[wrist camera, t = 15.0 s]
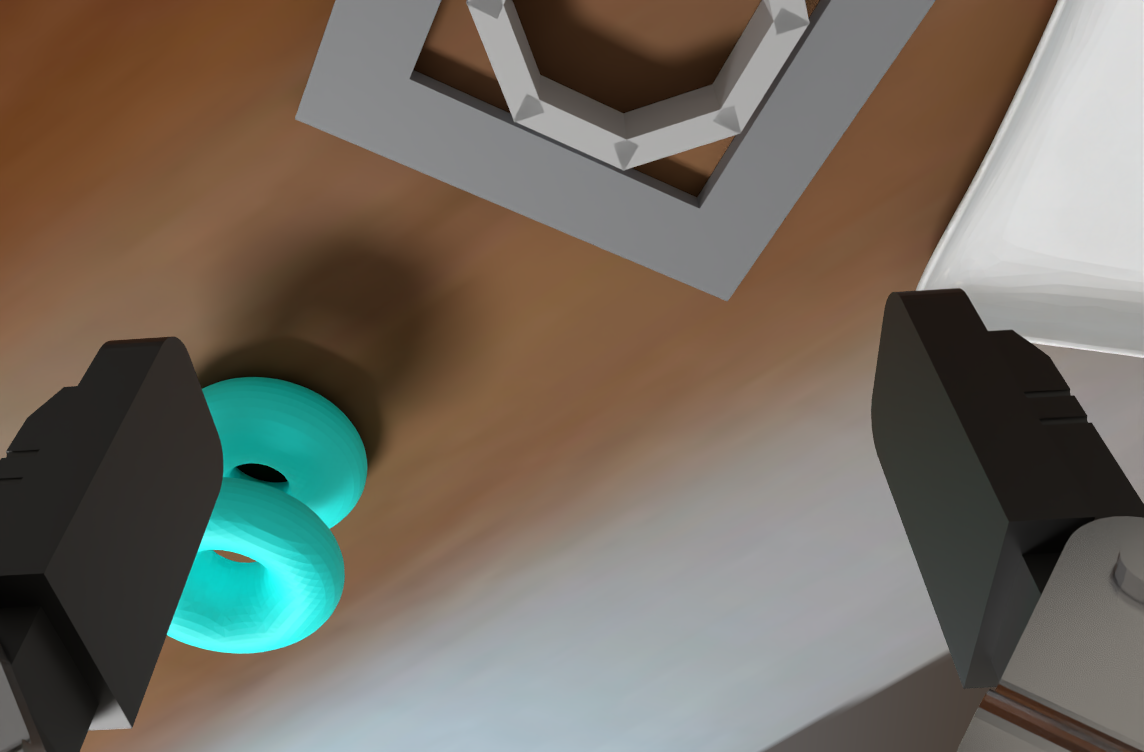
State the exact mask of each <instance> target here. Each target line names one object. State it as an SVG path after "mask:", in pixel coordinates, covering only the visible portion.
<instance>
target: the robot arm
mask: <svg viewBox="0 0 1144 752" xmlns="http://www.w3.org/2000/svg"><path fill="white" fill-rule="evenodd" d="M871 419H872V431H873V438H874V444H875V448H876V452H877V455H878V458H879V460H880V463H881V466H882V469H883V471H884V474H885V477H886V479H887V482H888V485H889V488H890V490H891V493H892V496H893V498H894V501H895V504H896V506H897V509H898V512H899V515H900V517H901V520H902V523H903V525H904V528H905V531H906V534H907V536H908V539H909V542H910V544H911V547H912V550H913V553H914V555H915V558H916V561H917V563H918V566H919V569H920V572H921V574H922V577H923V580H924V582H925V585H926V588H927V591H928V593H929V596H930V599H931V601H932V604H933V607H934V610H935V612H936V615H937V618H938V620H939V623H940V626H941V629H942V631H943V634H944V637H945V639H946V642H947V645H948V648H949V650H950V653H951V656H952V658H953V661H954V664H955V666H956V669H957V672H958V675H959V677H960V680H961V683H962V685H963V688H964V689H965V688H984V687H997V688H996V689H995V691H993V690H991V689H990V690H989V691H988V692H987V693H986V695H985V696H984V698H983V700H982V702H981V703H980V705H979V707H978V709H977V711H976V713H975V715H974V717H973V719H972V721H971V723H970V725H969V727H968V730H967V732H966V734H965V736H964V738H963V740H962V742H961V744H960V746H959V748H958V750H957V752H1144V504H1143V502H1142V501H1141V499H1140V498H1139V496H1138V495H1137V493H1136V491H1135V490H1134V488H1133V487H1132V485H1131V484H1130V482H1129V480H1128V479H1127V477H1126V476H1125V474H1124V473H1123V471H1122V469H1121V468H1120V466H1119V465H1118V463H1117V462H1116V460H1115V459H1114V457H1113V455H1112V454H1111V452H1110V451H1109V449H1108V448H1107V446H1106V444H1105V443H1104V441H1103V440H1102V438H1101V437H1100V435H1099V433H1098V432H1097V430H1096V429H1095V427H1094V426H1093V424H1092V423H1088V422H1087V415H1086V413H1085V412H1084V410H1083V408H1082V407H1081V405H1080V404H1079V402H1078V401H1077V399H1076V397H1075V396H1071V395H1070V388H1069V386H1068V385H1067V383H1066V382H1065V380H1064V379H1063V377H1062V375H1061V374H1060V372H1059V371H1058V369H1057V368H1056V366H1055V365H1054V363H1053V361H1052V360H1051V358H1050V357H1049V356H1048V355H1047V354H1045V353H1044V352H1042V351H1041V350H1040V349H1038V348H1037V347H1036V346H1034V345H1033V344H1031V343H1030V342H1029V341H1027V340H1026V339H1025V338H1023V337H1022V336H1020V335H1019V334H1018V333H1016V332H1015V331H1014V330H997V331H988V330H987V328H986V327H985V325H984V323H983V321H982V320H981V318H980V316H979V314H978V313H977V311H976V309H975V308H974V306H973V304H972V302H971V301H970V299H969V297H968V295H967V294H966V293H965V291H964V290H962V289H960V288H952V289H936V290H921V291H905V292H892V293H891V294H890V295H889V297H888V299H887V302H886V305H885V310H884V317H883V324H882V331H881V338H880V345H879V352H878V359H877V366H876V374H875V381H874V388H873V395H872V406H871ZM6 453H7V457H6V458H2V459H1V460H0V752H80V749H81V747H82V744H83V742H84V739H85V737H86V734H87V732H88V730H106V729H125V728H132V727H133V724H134V722H135V719H136V716H137V713H138V711H139V708H140V705H141V703H142V700H143V697H144V695H145V692H146V689H147V687H148V684H149V681H150V678H151V676H152V673H153V670H154V668H155V665H156V662H157V660H158V657H159V654H160V652H161V649H162V646H163V643H164V641H165V638H166V635H167V633H168V630H169V627H170V625H171V622H172V619H173V616H174V614H175V611H176V608H177V606H178V603H179V600H180V598H181V595H182V592H183V590H184V587H185V584H186V581H187V579H188V576H189V573H190V571H191V568H192V565H193V563H194V560H195V557H196V555H197V552H198V549H199V546H200V544H201V541H202V538H203V536H204V533H205V530H206V528H207V525H208V522H209V520H210V517H211V514H212V511H213V509H214V506H215V503H216V501H217V498H218V495H219V492H220V489H221V485H222V479H223V452H222V445H221V441H220V438H219V434H218V432H217V429H216V426H215V424H214V421H213V418H212V416H211V413H210V410H209V407H208V405H207V402H206V399H205V397H204V394H203V391H202V389H201V386H200V383H199V380H198V378H197V375H196V372H195V370H194V367H193V364H192V362H191V359H190V356H189V354H188V351H187V349H186V347H185V346H184V344H183V343H182V342H181V340H179V339H178V338H176V337H160V338H145V339H129V340H114V341H108V342H106V343H105V344H103V345H102V347H101V348H100V349H99V351H98V353H97V355H96V356H95V358H94V360H93V361H92V363H91V365H90V366H89V368H88V370H87V371H86V373H85V375H84V376H83V378H82V380H81V381H80V383H79V385H78V386H74V387H64V388H63V389H61V390H60V391H59V392H58V393H57V394H55V395H54V396H53V397H52V398H51V399H49V400H48V401H47V402H46V403H45V404H43V405H42V406H41V407H40V408H39V409H37V410H36V411H35V412H34V413H33V414H31V415H30V416H29V417H28V418H27V419H26V421H25V422H24V424H23V426H22V427H21V429H20V430H19V432H18V433H17V435H16V437H15V438H14V440H13V441H12V443H11V444H10V446H9V448H8V449H7V451H6Z"/></svg>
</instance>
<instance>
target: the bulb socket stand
mask: <svg viewBox="0 0 1144 752" xmlns="http://www.w3.org/2000/svg"><path fill="white" fill-rule="evenodd" d="M440 2H441V0H336V1H335V4H334V7H333V9H332V12H331V15H330V18H329V21H328V24H327V27H326V30H325V33H324V36H323V39H322V42H321V44H320V47H319V50H318V53H317V56H316V59H315V62H314V65H313V68H312V71H311V74H310V77H309V79H308V82H307V85H306V88H305V91H304V94H303V97H302V100H301V103H300V106H299V109H298V112H297V114H296V117H295V119H296V120H299V121H301V122H303V123H306V124H308V125H310V126H313V127H315V128H318V129H320V130H322V131H325V132H327V133H329V134H332V135H334V136H337V137H339V138H341V139H344V140H346V141H348V142H351V143H353V144H355V145H358V146H360V147H363V148H365V149H367V150H370V151H372V152H374V153H377V154H379V155H382V156H384V157H386V158H389V159H391V160H393V161H396V162H398V163H401V164H403V165H405V166H408V167H410V168H412V169H415V170H417V171H420V172H422V173H424V174H427V175H429V176H431V177H434V178H436V179H439V180H441V181H443V182H446V183H448V184H450V185H453V186H455V187H458V188H460V189H462V190H465V191H467V192H469V193H472V194H474V195H476V196H479V197H481V198H484V199H486V200H488V201H491V202H493V203H495V204H498V205H500V206H503V207H505V208H507V209H510V210H512V211H514V212H517V213H519V214H522V215H524V216H526V217H529V218H531V219H533V220H536V221H538V222H541V223H543V224H545V225H548V226H550V227H552V228H555V229H557V230H560V231H562V232H564V233H567V234H569V235H571V236H574V237H576V238H578V239H581V240H583V241H586V242H588V243H590V244H593V245H595V246H597V247H600V248H602V249H605V250H607V251H609V252H612V253H614V254H616V255H619V256H621V257H624V258H626V259H628V260H631V261H633V262H635V263H638V264H640V265H643V266H645V267H647V268H650V269H652V270H654V271H657V272H659V273H662V274H664V275H666V276H669V277H671V278H673V279H676V280H678V281H680V282H683V283H685V284H688V285H690V286H692V287H695V288H697V289H699V290H702V291H704V292H707V293H709V294H711V295H714V296H716V297H718V298H721V299H723V300H726V301H728V300H729V298H730V297H731V295H732V294H733V293H734V291H735V290H736V288H737V287H738V285H739V284H740V282H741V281H742V280H743V278H744V277H745V275H746V274H747V272H748V271H749V269H750V268H751V267H752V265H753V264H754V262H755V261H756V259H757V258H758V256H759V255H760V254H761V252H762V251H763V249H764V248H765V246H766V245H767V243H768V242H769V241H770V239H771V238H772V236H773V235H774V233H775V232H776V230H777V229H778V227H779V226H780V225H781V223H782V222H783V220H784V219H785V217H786V216H787V214H788V213H789V212H790V210H791V209H792V207H793V206H794V204H795V203H796V201H797V200H798V199H799V197H800V196H801V194H802V193H803V191H804V190H805V188H806V187H807V186H808V184H809V183H810V181H811V180H812V178H813V177H814V175H815V174H816V172H817V171H818V170H819V168H820V167H821V165H822V164H823V162H824V161H825V159H826V158H827V157H828V155H829V154H830V152H831V151H832V149H833V148H834V146H835V145H836V144H837V142H838V141H839V139H840V138H841V136H842V135H843V133H844V132H845V131H846V129H847V128H848V126H849V125H850V123H851V122H852V120H853V119H854V118H855V116H856V115H857V113H858V112H859V110H860V109H861V107H862V106H863V104H864V103H865V102H866V100H867V99H868V97H869V96H870V94H871V93H872V91H873V90H874V89H875V87H876V86H877V84H878V83H879V81H880V80H881V78H882V77H883V76H884V74H885V73H886V71H887V70H888V68H889V67H890V65H891V64H892V63H893V61H894V60H895V58H896V57H897V55H898V54H899V52H900V51H901V49H902V48H903V47H904V45H905V44H906V42H907V41H908V39H909V38H910V36H911V35H912V34H913V32H914V31H915V29H916V28H917V26H918V25H919V23H920V22H921V21H922V19H923V18H924V16H925V15H926V13H927V12H928V10H929V9H930V8H931V6H932V5H933V3H934V2H935V0H820V1H819V3H818V5H817V6H816V8H815V9H814V11H813V13H812V14H811V16H810V18H809V19H808V14H807V9H806V4H805V0H762V1H761V3H760V4H759V6H758V8H757V10H756V11H755V13H754V15H753V16H752V18H751V20H750V21H749V23H748V25H747V27H746V28H745V30H744V32H743V33H742V35H741V37H740V38H739V40H738V42H737V43H736V45H735V47H734V49H733V50H732V52H731V54H730V55H729V57H728V59H727V60H726V62H725V64H724V65H723V67H722V69H721V71H720V72H719V74H718V76H717V77H716V79H715V81H714V82H713V84H712V85H709V86H705V87H702V88H699V89H696V90H693V91H690V92H687V93H684V94H681V95H678V96H675V97H672V98H669V99H666V100H663V101H660V102H657V103H654V104H651V105H647V106H644V107H641V108H638V109H635V110H632V111H629V112H626V113H621V112H619V111H617V110H615V109H613V108H611V107H609V106H606V105H604V104H602V103H600V102H598V101H596V100H593V99H591V98H589V97H587V96H585V95H583V94H581V93H578V92H576V91H574V90H572V89H570V88H568V87H566V86H563V85H561V84H559V83H557V82H555V81H553V80H550V79H548V78H546V77H544V76H542V75H540V73H539V70H538V68H537V65H536V62H535V59H534V57H533V54H532V51H531V49H530V46H529V43H528V41H527V38H526V35H525V33H524V30H523V27H522V25H521V22H520V19H519V17H518V14H517V11H516V9H515V6H514V3H513V1H512V0H467V5H468V7H469V10H470V12H471V15H472V17H473V20H474V22H475V25H476V27H477V30H478V32H479V35H480V37H481V40H482V42H483V45H484V47H485V50H486V52H487V55H488V57H489V60H490V62H491V65H492V67H493V70H494V72H495V75H496V77H497V80H498V82H499V84H500V87H501V89H502V92H503V94H504V97H505V99H506V102H507V104H508V107H509V109H510V112H511V114H510V113H508V112H506V111H504V110H501V109H499V108H497V107H495V106H492V105H490V104H488V103H486V102H484V101H481V100H479V99H477V98H475V97H472V96H470V95H468V94H466V93H464V92H461V91H459V90H457V89H455V88H452V87H450V86H448V85H446V84H444V83H441V82H439V81H437V80H435V79H432V78H430V77H428V76H426V75H424V74H421V73H419V72H417V71H415V70H413V69H414V66H415V64H416V61H417V59H418V57H419V54H420V52H421V49H422V47H423V44H424V42H425V39H426V37H427V34H428V32H429V29H430V27H431V24H432V22H433V19H434V17H435V14H436V12H437V10H438V7H439V5H440ZM734 135H736V136H735V138H734V139H733V141H732V142H731V144H730V146H729V147H728V149H727V150H726V152H725V154H724V155H723V157H722V158H721V160H720V162H719V163H718V165H717V167H716V168H715V170H714V171H713V173H712V175H711V176H710V178H709V179H708V181H707V183H706V184H705V186H704V187H703V189H702V191H701V192H700V194H699V195H698V197H695V196H692V195H690V194H688V193H686V192H684V191H681V190H679V189H677V188H675V187H672V186H670V185H668V184H666V183H664V182H661V181H659V180H657V179H655V178H652V177H650V176H648V175H646V174H644V173H641V172H639V171H637V170H635V169H632V168H633V167H636V166H639V165H642V164H645V163H648V162H652V161H655V160H658V159H661V158H664V157H667V156H671V155H674V154H677V153H680V152H683V151H686V150H689V149H693V148H696V147H699V146H702V145H705V144H708V143H712V142H715V141H718V140H721V139H724V138H727V137H731V136H734Z"/></svg>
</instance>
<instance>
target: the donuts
mask: <svg viewBox="0 0 1144 752" xmlns="http://www.w3.org/2000/svg"><path fill="white" fill-rule="evenodd" d="M202 391H203V394H204V397H205V399H206V402H207V405H208V407H209V410H210V413H211V416H212V418H213V421H214V424H215V426H216V429H217V432H218V434H219V438H220V441H221V445H222V452H223V479H222V485H221V489H220V492H219V495H218V498H217V501H216V503H215V506H214V509H213V511H212V514H211V517H210V520H209V522H208V525H207V528H206V530H205V533H204V536H203V538H202V541H201V544H200V546H199V549H198V552H197V555H196V557H195V560H194V563H193V565H192V568H191V571H190V573H189V576H188V579H187V581H186V584H185V587H184V590H183V592H182V595H181V598H180V600H179V603H178V606H177V608H176V611H175V614H174V616H173V619H172V622H171V625H170V627H169V630H168V633H167V635H168V636H170V637H172V638H174V639H176V640H178V641H181V642H183V643H186V644H189V645H192V646H195V647H199V648H203V649H207V650H212V651H218V652H226V653H257V652H265V651H270V650H275V649H278V648H282V647H285V646H288V645H291V644H293V643H296V642H298V641H300V640H302V639H304V638H306V637H307V636H309V635H311V634H312V633H313V632H315V631H316V630H317V629H318V628H319V627H320V626H322V625H323V624H324V623H325V622H326V621H327V620H328V618H329V617H330V616H331V614H332V613H333V611H334V610H335V608H336V606H337V604H338V602H339V600H340V598H341V594H342V591H343V586H344V578H345V573H344V561H343V557H342V553H341V551H340V548H339V545H338V543H337V541H336V539H335V537H334V535H333V534H332V532H331V531H330V528H331V527H333V526H335V525H336V524H337V523H339V522H340V521H341V520H342V519H343V518H344V517H346V516H347V515H348V514H349V513H350V511H351V510H352V509H353V508H354V507H355V505H356V504H357V502H358V500H359V498H360V496H361V494H362V492H363V490H364V486H365V482H366V477H367V458H366V452H365V448H364V445H363V442H362V440H361V438H360V436H359V434H358V432H357V430H356V428H355V427H354V426H353V424H352V423H351V421H350V420H349V419H348V418H347V416H346V415H345V414H344V413H343V412H342V411H341V410H340V409H339V408H338V407H336V406H335V405H334V404H333V403H331V402H330V401H329V400H327V399H326V398H324V397H323V396H321V395H319V394H318V393H316V392H314V391H312V390H310V389H308V388H305V387H303V386H300V385H297V384H294V383H291V382H288V381H284V380H279V379H273V378H266V377H241V378H233V379H228V380H224V381H220V382H217V383H214V384H212V385H209V386H207V387H205V388H203V389H202ZM248 463H255V464H262V465H266V466H269V467H271V468H274V469H275V470H277V471H279V472H280V473H281V474H282V475H284V476H285V478H286V479H287V480H288V481H287V482H266V481H261V480H258V479H255V478H253V477H250V476H248V475H246V474H244V473H243V472H242V471H240V470H239V469H238V468H237V467H236V466H239V465H242V464H248ZM213 550H225V551H231V552H235V553H239V554H242V555H245V556H248V557H250V558H252V559H254V560H256V561H258V562H251V563H240V562H235V561H232V560H229V559H226V558H224V557H222V556H220V555H218V554H217V553H215V552H214V551H213Z"/></svg>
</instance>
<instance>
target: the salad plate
mask: <svg viewBox="0 0 1144 752" xmlns="http://www.w3.org/2000/svg"><path fill="white" fill-rule="evenodd" d="M952 288H960V289H962V290H964V291H965V293H966V294H967V295H968V297H969V299H970V301H971V302H972V304H973V306H974V308H975V309H976V311H977V313H978V314H979V316H980V318H981V320H982V321H983V323H984V325H985V327H986V328H987V330H988V331H997V330H1014V331H1015V332H1016V333H1018V334H1019V335H1020V336H1022V337H1023V338H1025V339H1026V340H1027V341H1029V342H1030V343H1036V344H1044V345H1051V346H1059V347H1068V348H1076V349H1082V350H1091V351H1098V352H1106V353H1113V354H1121V355H1128V356H1135V357H1142V358H1144V0H1058V1H1057V3H1056V6H1055V8H1054V10H1053V12H1052V15H1051V17H1050V19H1049V22H1048V24H1047V26H1046V29H1045V31H1044V33H1043V35H1042V37H1041V40H1040V42H1039V44H1038V46H1037V48H1036V51H1035V53H1034V55H1033V57H1032V59H1031V62H1030V64H1029V66H1028V68H1027V70H1026V72H1025V75H1024V77H1023V79H1022V81H1021V83H1020V85H1019V87H1018V90H1017V92H1016V94H1015V96H1014V98H1013V100H1012V102H1011V104H1010V106H1009V108H1008V110H1007V113H1006V115H1005V117H1004V119H1003V121H1002V123H1001V125H1000V127H999V129H998V131H997V133H996V136H995V138H994V140H993V142H992V144H991V146H990V148H989V150H988V152H987V154H986V156H985V158H984V159H983V161H982V163H981V165H980V167H979V169H978V171H977V173H976V175H975V177H974V178H973V180H972V182H971V184H970V186H969V188H968V190H967V192H966V194H965V195H964V197H963V199H962V201H961V203H960V204H959V206H958V208H957V210H956V211H955V213H954V215H953V217H952V219H951V221H950V222H949V224H948V226H947V228H946V230H945V232H944V233H943V235H942V237H941V239H940V241H939V243H938V245H937V246H936V248H935V250H934V252H933V254H932V256H931V258H930V260H929V261H928V263H927V266H926V268H925V270H924V272H923V274H922V277H921V279H920V281H919V283H918V286H917V288H916V291H921V290H936V289H952Z"/></svg>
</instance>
